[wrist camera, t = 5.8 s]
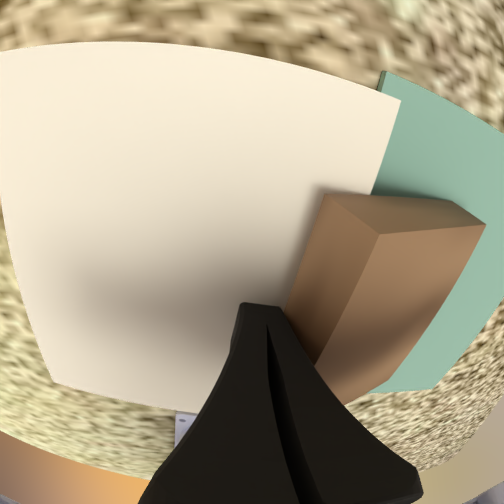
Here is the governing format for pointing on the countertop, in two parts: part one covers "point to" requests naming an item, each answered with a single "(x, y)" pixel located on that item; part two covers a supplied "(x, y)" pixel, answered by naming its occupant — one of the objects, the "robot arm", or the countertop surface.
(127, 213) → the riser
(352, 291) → the walnut coaster
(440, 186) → the sage mat
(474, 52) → the countertop surface
